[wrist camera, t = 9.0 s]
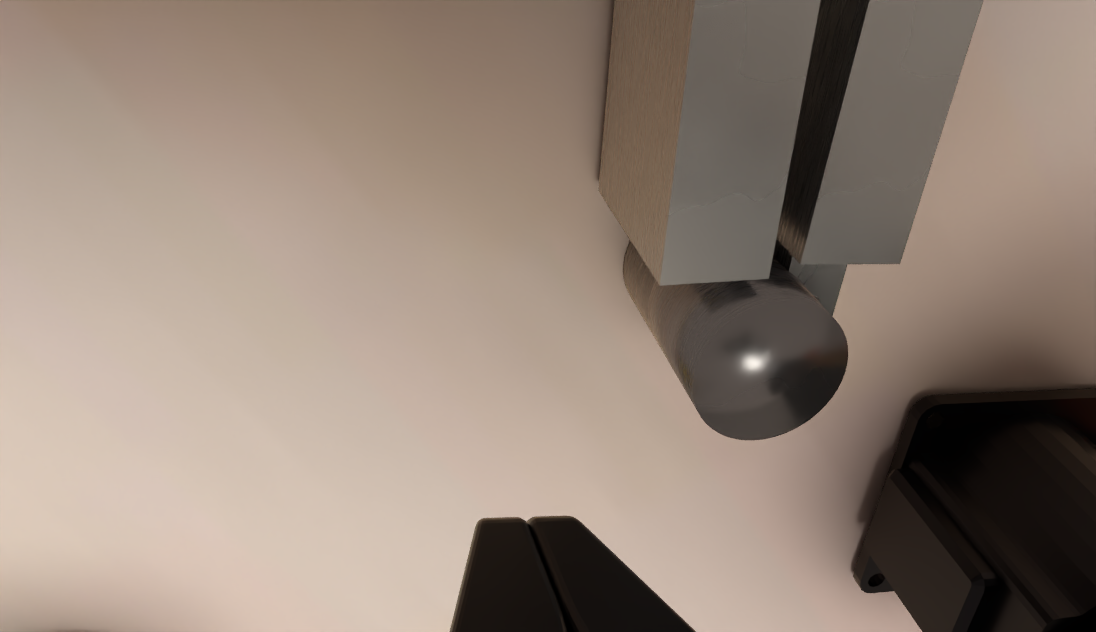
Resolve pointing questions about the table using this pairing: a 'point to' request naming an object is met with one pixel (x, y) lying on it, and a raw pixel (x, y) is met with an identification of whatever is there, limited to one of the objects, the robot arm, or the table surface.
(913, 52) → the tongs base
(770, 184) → the bar
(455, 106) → the table surface
